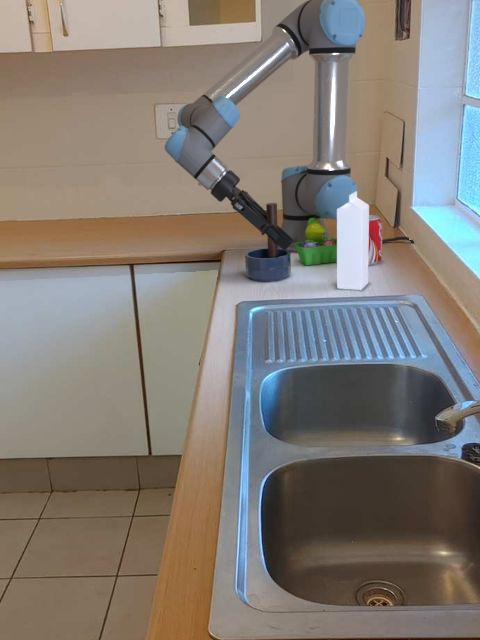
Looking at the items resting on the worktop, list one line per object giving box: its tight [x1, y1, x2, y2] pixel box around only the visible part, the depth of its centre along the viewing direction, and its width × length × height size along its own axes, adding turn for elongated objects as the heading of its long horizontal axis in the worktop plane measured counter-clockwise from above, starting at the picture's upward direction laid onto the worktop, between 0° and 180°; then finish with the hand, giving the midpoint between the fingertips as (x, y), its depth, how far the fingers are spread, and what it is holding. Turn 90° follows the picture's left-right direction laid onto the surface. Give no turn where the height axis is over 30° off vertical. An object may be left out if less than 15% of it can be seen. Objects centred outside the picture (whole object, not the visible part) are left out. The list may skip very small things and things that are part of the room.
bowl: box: [244, 247, 292, 282], centre depth 191 cm, size 11×12×6 cm
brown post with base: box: [265, 202, 279, 258], centre depth 188 cm, size 5×5×16 cm
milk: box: [336, 191, 370, 291], centre depth 176 cm, size 6×6×22 cm
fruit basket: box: [295, 218, 337, 266], centre depth 201 cm, size 11×9×11 cm
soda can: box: [368, 214, 383, 266], centre depth 197 cm, size 7×7×12 cm
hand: (288, 245), depth 188 cm, fingers closed on brown post with base, 3 cm apart
